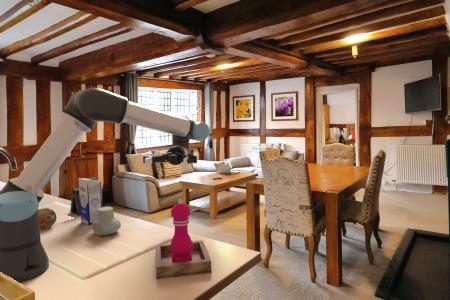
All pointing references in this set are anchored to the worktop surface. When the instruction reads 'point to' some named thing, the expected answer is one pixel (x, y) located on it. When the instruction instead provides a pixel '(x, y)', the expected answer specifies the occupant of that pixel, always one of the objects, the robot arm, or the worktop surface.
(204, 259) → the walnut tray
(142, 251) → the worktop surface
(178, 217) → the pepper mill
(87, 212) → the milk carton
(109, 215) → the air freshener
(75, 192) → the door stopper
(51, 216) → the tin
